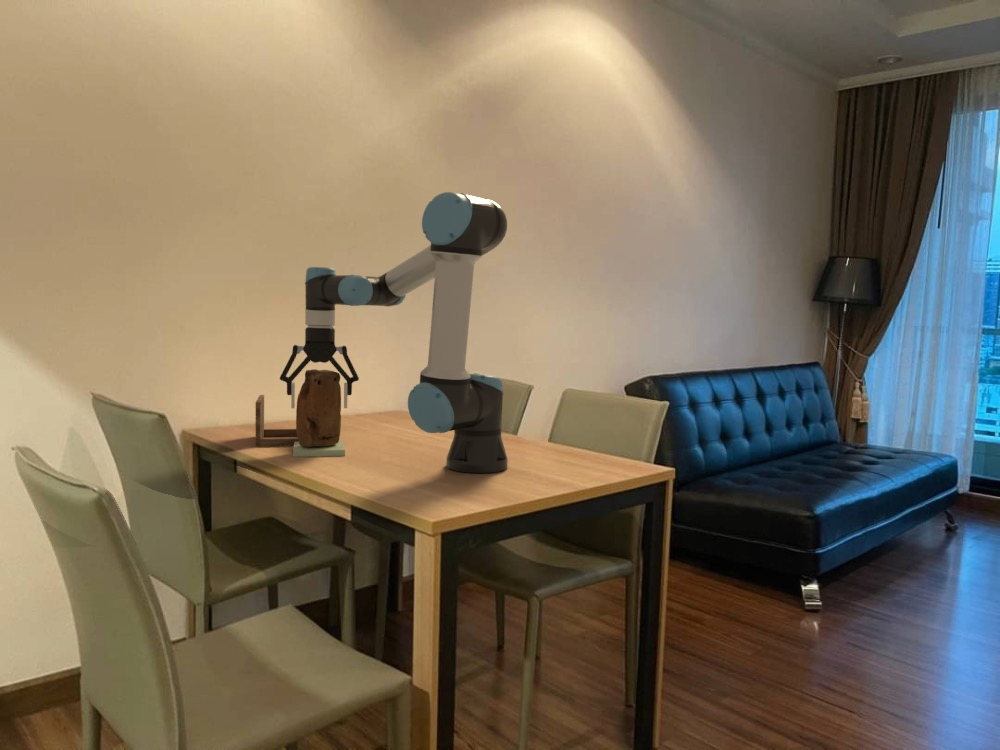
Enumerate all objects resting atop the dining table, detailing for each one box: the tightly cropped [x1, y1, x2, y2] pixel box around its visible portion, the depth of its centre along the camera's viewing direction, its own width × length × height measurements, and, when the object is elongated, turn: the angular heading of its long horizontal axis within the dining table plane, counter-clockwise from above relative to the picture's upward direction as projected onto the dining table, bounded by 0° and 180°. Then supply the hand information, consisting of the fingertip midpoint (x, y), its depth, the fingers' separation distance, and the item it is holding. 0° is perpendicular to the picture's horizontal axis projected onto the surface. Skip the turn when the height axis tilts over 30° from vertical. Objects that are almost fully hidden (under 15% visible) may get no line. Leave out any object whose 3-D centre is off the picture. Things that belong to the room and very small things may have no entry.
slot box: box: [255, 394, 299, 448], centre depth 219 cm, size 16×17×12 cm
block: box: [295, 369, 342, 447], centre depth 205 cm, size 11×8×20 cm
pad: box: [292, 440, 346, 458], centre depth 206 cm, size 13×13×2 cm
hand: (319, 407), depth 205 cm, fingers open, 13 cm apart
